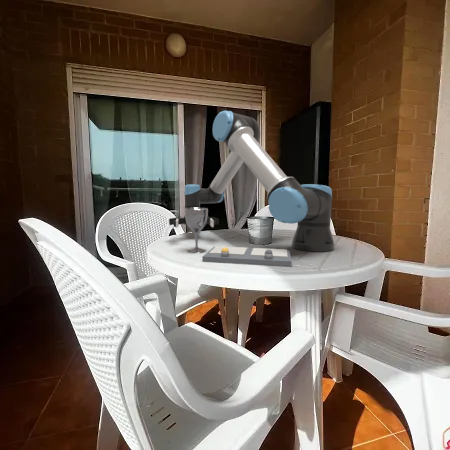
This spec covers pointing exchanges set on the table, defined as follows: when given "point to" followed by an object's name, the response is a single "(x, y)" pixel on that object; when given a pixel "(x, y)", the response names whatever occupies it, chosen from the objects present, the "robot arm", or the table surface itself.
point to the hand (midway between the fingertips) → (194, 223)
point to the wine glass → (196, 224)
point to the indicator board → (249, 256)
